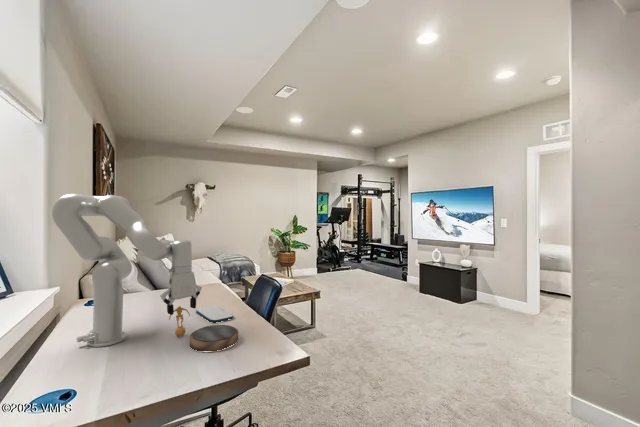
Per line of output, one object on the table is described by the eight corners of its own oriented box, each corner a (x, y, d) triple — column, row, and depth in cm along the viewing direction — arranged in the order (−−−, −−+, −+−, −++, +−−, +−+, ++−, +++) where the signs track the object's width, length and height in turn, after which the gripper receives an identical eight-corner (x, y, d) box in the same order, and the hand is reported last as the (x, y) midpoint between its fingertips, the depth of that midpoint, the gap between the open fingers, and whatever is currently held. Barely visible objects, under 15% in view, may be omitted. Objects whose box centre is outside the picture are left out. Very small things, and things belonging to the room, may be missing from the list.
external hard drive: (194, 312, 153) (194, 308, 153) (215, 308, 161) (215, 304, 161) (212, 325, 136) (212, 321, 136) (235, 320, 144) (235, 315, 144)
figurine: (170, 340, 118) (170, 310, 118) (166, 335, 122) (167, 306, 123) (191, 335, 123) (192, 306, 123) (188, 331, 128) (188, 303, 128)
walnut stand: (207, 357, 104) (207, 345, 104) (180, 343, 115) (180, 333, 115) (247, 340, 119) (247, 330, 119) (220, 330, 129) (220, 320, 129)
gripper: (165, 274, 114) (165, 318, 114) (205, 267, 128) (206, 307, 128) (156, 272, 118) (156, 315, 118) (196, 266, 132) (196, 304, 132)
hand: (182, 310), depth 123 cm, fingers open, 9 cm apart
